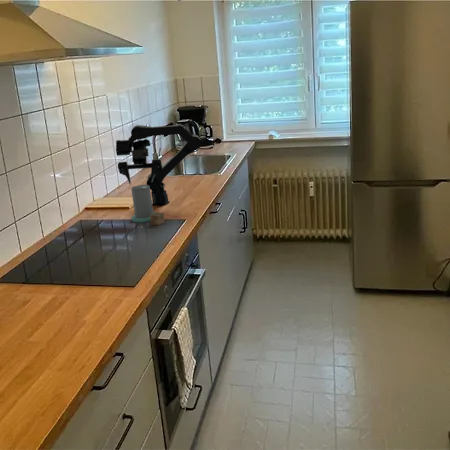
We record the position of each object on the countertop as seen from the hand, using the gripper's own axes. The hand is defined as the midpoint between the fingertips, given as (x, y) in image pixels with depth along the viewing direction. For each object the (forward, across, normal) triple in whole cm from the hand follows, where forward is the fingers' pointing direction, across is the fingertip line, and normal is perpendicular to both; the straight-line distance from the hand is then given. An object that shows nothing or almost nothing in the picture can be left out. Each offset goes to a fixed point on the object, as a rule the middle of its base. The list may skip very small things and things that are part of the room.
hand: (140, 183), depth 219 cm
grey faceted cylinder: (+14, +1, +3) cm, 15 cm away
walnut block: (+21, +7, -2) cm, 23 cm away
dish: (+15, +1, +4) cm, 16 cm away
